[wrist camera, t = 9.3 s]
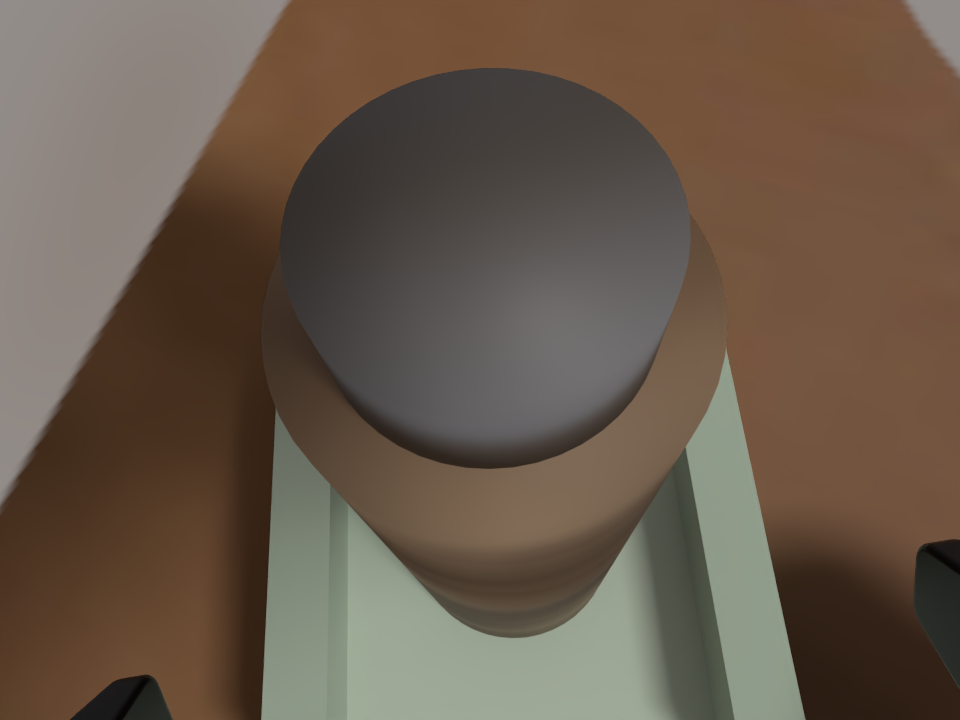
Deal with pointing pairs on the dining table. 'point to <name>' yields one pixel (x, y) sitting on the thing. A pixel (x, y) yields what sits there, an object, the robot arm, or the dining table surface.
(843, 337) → the dining table surface
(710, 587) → the tray
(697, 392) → the pepper mill
